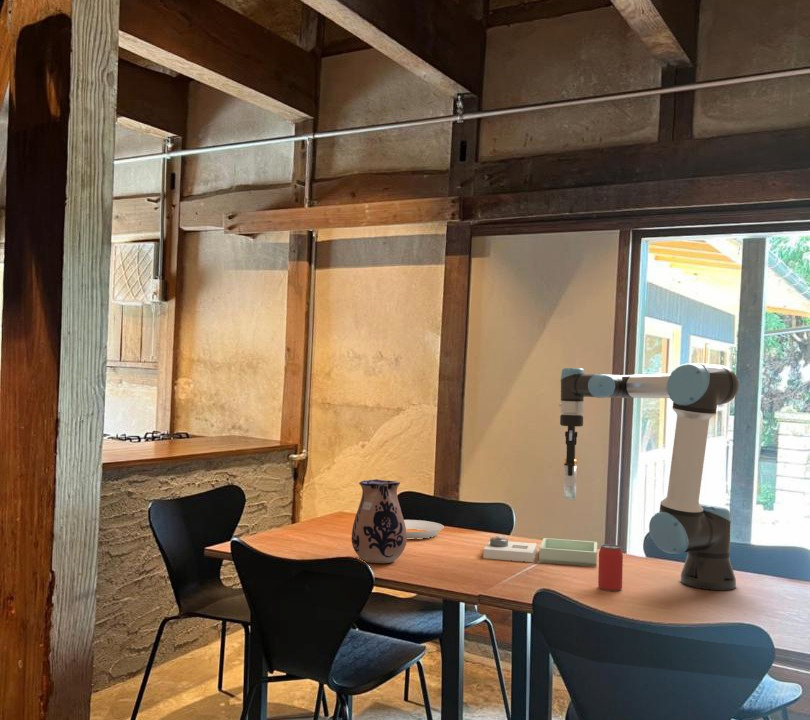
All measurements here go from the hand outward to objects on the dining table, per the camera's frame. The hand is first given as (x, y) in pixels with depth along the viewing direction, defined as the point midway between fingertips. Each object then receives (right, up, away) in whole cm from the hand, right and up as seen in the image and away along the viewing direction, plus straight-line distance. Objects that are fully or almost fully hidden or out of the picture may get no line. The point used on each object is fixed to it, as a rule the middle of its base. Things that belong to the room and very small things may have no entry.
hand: (570, 484), depth 263 cm
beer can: (+3, -24, -39) cm, 46 cm away
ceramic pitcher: (-64, -23, -11) cm, 69 cm away
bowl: (-53, -24, +33) cm, 67 cm away
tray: (-1, -24, -1) cm, 24 cm away
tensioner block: (-20, -24, +2) cm, 31 cm away
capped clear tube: (0, -5, 0) cm, 5 cm away
